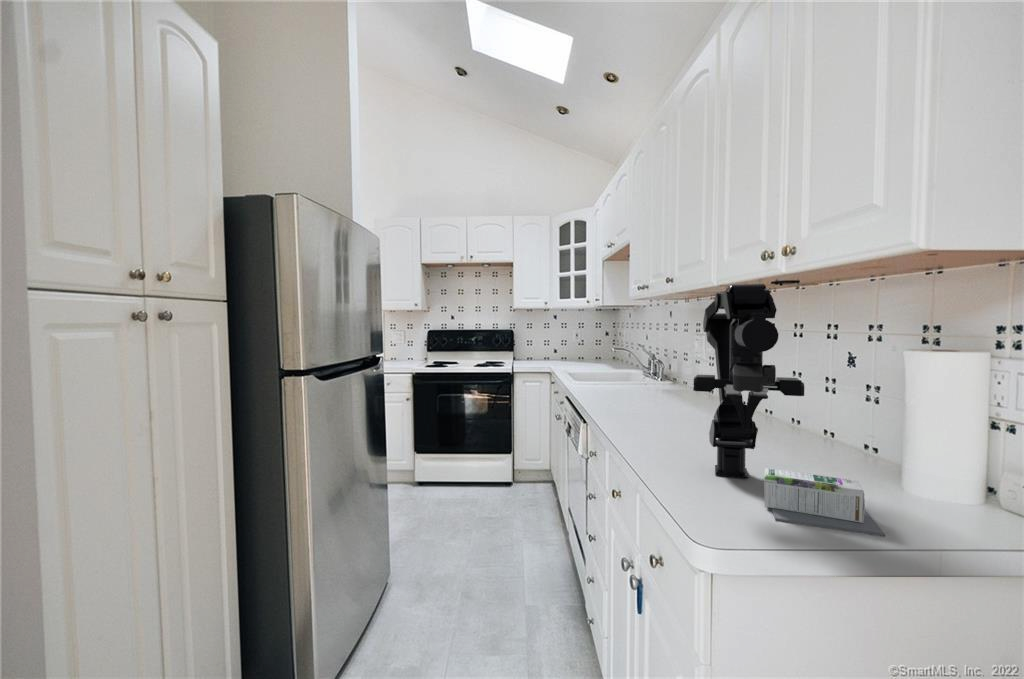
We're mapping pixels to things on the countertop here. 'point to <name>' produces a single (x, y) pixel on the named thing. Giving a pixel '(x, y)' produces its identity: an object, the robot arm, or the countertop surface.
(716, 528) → the countertop surface
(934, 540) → the countertop surface
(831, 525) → the mat
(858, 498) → the syrup box
